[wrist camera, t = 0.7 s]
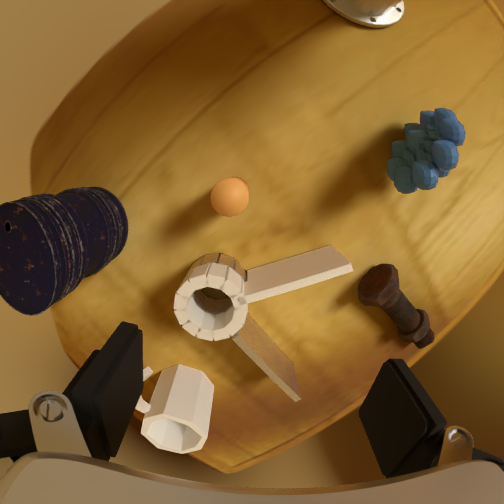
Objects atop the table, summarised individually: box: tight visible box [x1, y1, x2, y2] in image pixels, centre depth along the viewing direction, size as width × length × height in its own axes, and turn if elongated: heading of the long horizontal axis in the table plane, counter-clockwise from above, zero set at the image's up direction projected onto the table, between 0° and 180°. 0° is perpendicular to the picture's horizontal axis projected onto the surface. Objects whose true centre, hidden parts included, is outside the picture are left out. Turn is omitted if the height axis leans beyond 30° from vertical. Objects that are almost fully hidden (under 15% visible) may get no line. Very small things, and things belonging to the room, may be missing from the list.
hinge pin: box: [210, 177, 249, 217], centre depth 27 cm, size 3×3×9 cm
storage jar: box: [0, 187, 128, 315], centre depth 24 cm, size 10×10×15 cm
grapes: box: [387, 108, 465, 194], centre depth 24 cm, size 12×7×12 cm, turn 145°
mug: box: [135, 364, 214, 454], centre depth 33 cm, size 12×9×10 cm
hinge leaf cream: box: [174, 245, 353, 341], centre depth 30 cm, size 17×7×7 cm, turn 107°
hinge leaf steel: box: [186, 253, 301, 402], centre depth 31 cm, size 7×19×7 cm, turn 37°
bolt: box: [358, 264, 434, 349], centre depth 33 cm, size 6×5×15 cm
